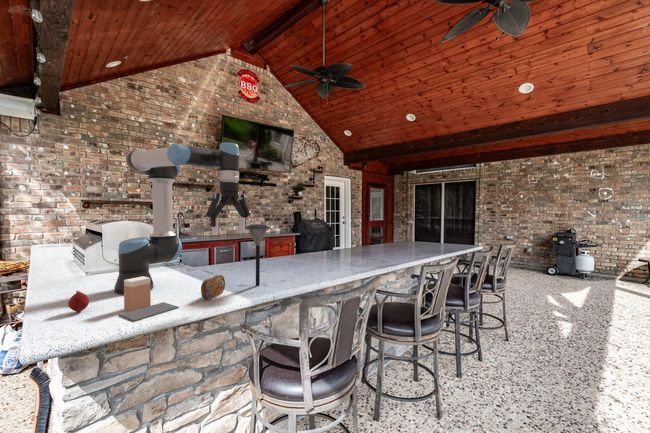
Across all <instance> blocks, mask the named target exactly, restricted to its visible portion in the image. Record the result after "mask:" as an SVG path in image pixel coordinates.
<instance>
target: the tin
mask: <svg viewBox="0 0 650 433" xmlns="http://www.w3.org/2000/svg"><path fill="white" fill-rule="evenodd" d="M225 286H226V280H225V278H224V276H223V275H221V274H218V275H214V276H210V277H208V278H207V279H204V280H203V282H202V284H201V286H200V294H201V297H202V298H203V300H204V299H205V300H213V299H215V298H216V297H217V296H220V295H221V294H223V292H224V290H225ZM212 298H213V299H212Z"/></svg>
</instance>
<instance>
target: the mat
mask: <svg viewBox="0 0 650 433" xmlns="http://www.w3.org/2000/svg"><path fill="white" fill-rule="evenodd" d="M179 308H180V307H179V306H177V305H174V304H171V303H167V302H164V301H163V302H159V303H155V304H151V306H148V307H144V308H140V309H137V310H133V311H126V312H123V313H119V314H118V316H119V317H121V318H123V319H127V320H129V321H131V322H137V321H141V320H145V319H148V318H151V317H154V316H157V315H161V314H163V313H167V312H170V311H173V310H177V309H179Z"/></svg>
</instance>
